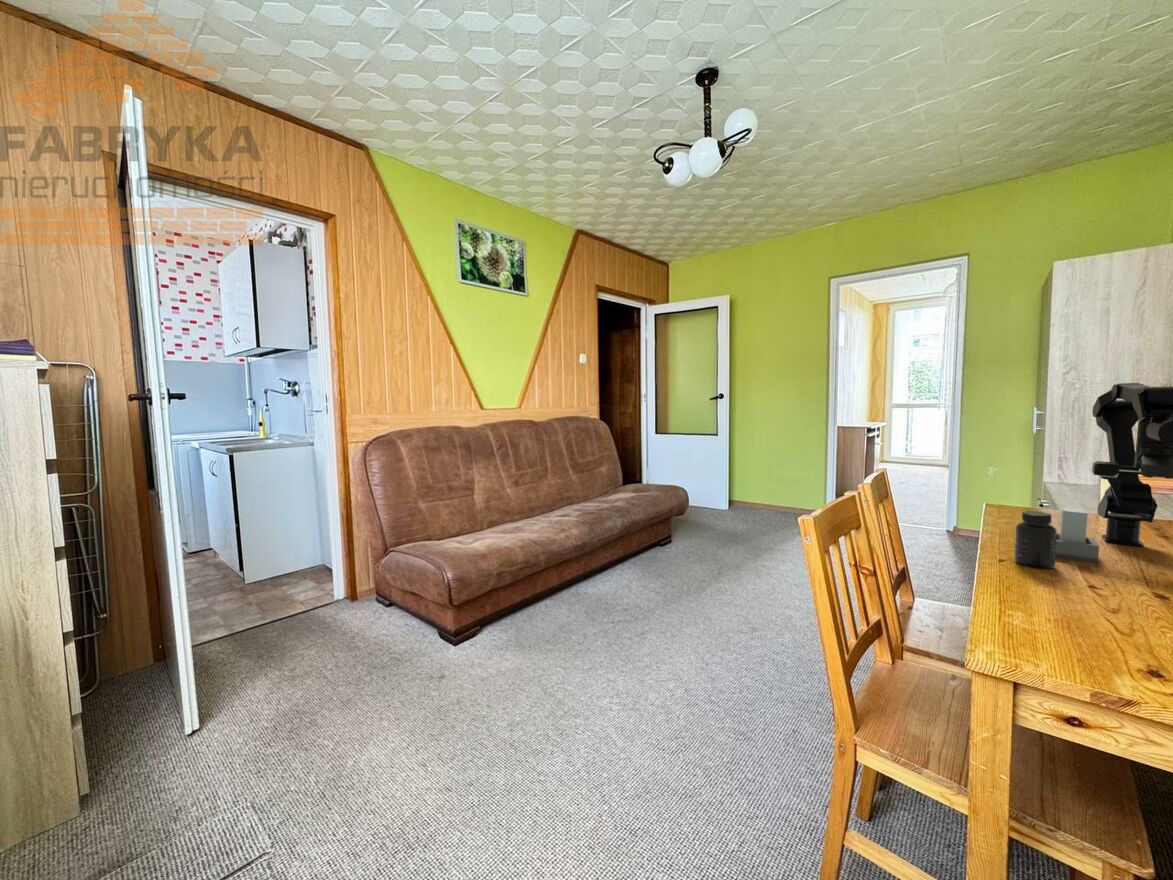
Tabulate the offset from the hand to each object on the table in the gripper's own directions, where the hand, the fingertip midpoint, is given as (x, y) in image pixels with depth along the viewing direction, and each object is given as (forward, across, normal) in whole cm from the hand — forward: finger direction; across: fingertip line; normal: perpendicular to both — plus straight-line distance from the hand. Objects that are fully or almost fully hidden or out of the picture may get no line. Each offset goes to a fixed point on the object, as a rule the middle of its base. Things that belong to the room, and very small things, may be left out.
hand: (1149, 508), depth 109 cm
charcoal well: (+12, -12, -8) cm, 19 cm away
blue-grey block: (+11, -12, -8) cm, 18 cm away
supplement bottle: (+12, -19, -21) cm, 31 cm away
